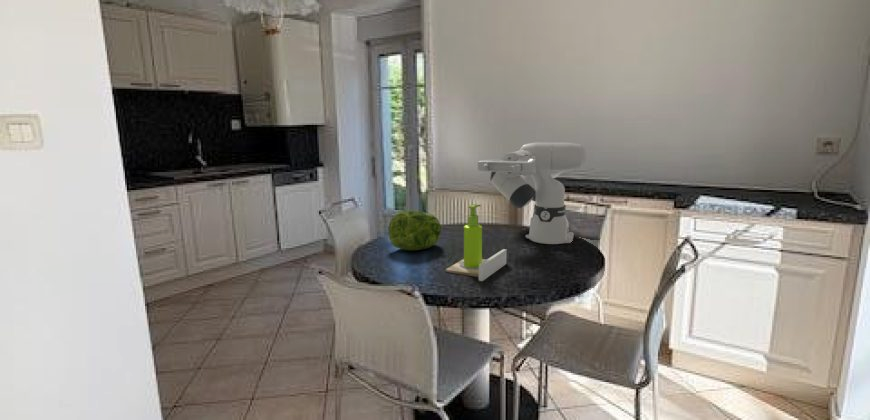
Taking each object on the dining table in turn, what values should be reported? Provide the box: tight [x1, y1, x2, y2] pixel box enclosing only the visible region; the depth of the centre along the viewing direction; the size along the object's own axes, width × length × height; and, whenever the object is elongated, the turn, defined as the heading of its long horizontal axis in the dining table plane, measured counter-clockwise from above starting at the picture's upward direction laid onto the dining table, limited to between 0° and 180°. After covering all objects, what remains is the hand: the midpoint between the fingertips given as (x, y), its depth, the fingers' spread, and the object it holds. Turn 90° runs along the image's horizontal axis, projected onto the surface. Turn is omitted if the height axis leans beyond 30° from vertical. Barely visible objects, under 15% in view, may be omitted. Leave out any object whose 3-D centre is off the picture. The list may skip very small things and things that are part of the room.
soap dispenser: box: [463, 203, 483, 268], centre depth 154 cm, size 6×7×20 cm
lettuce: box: [387, 210, 443, 252], centre depth 179 cm, size 16×21×15 cm
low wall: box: [478, 248, 508, 282], centre depth 151 cm, size 20×1×5 cm, turn 151°
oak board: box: [445, 258, 487, 278], centre depth 156 cm, size 16×12×1 cm
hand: (498, 168), depth 159 cm, fingers open, 8 cm apart
